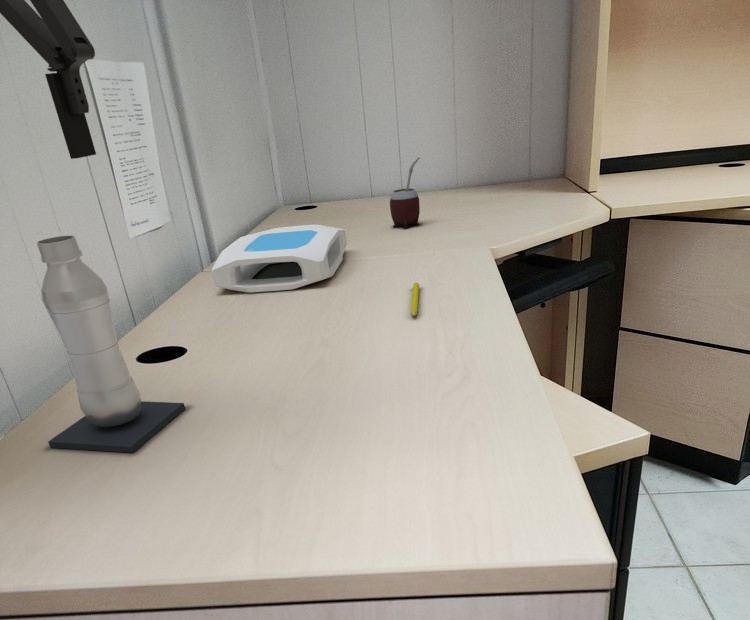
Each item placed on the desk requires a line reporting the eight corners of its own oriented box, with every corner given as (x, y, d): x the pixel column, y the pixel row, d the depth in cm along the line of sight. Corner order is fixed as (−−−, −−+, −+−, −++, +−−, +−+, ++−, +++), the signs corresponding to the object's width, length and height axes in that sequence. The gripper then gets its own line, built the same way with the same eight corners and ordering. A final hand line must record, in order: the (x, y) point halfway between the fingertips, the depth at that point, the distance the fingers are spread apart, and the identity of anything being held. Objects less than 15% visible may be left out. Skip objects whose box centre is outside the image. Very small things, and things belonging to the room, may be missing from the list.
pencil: (413, 288, 113) (413, 282, 112) (419, 288, 113) (418, 282, 112) (410, 319, 99) (410, 312, 98) (417, 318, 99) (416, 312, 98)
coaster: (50, 447, 74) (47, 441, 73) (109, 405, 83) (107, 399, 82) (133, 453, 71) (130, 446, 70) (185, 408, 79) (184, 402, 79)
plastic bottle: (113, 407, 80) (54, 233, 69) (158, 411, 77) (104, 231, 67) (75, 431, 75) (5, 247, 64) (122, 436, 72) (57, 246, 62)
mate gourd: (392, 224, 164) (387, 157, 155) (424, 221, 162) (420, 153, 154) (390, 230, 157) (384, 160, 149) (423, 227, 156) (419, 157, 148)
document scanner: (348, 251, 143) (344, 221, 139) (326, 287, 119) (321, 252, 116) (254, 259, 146) (248, 229, 142) (215, 295, 123) (207, 261, 119)
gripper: (-237, -122, 52) (-106, 175, 64) (13, -192, 45) (110, 157, 56) (-149, -105, 58) (-44, 164, 69) (84, -164, 51) (158, 147, 62)
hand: (25, 162), depth 63 cm, fingers open, 13 cm apart
